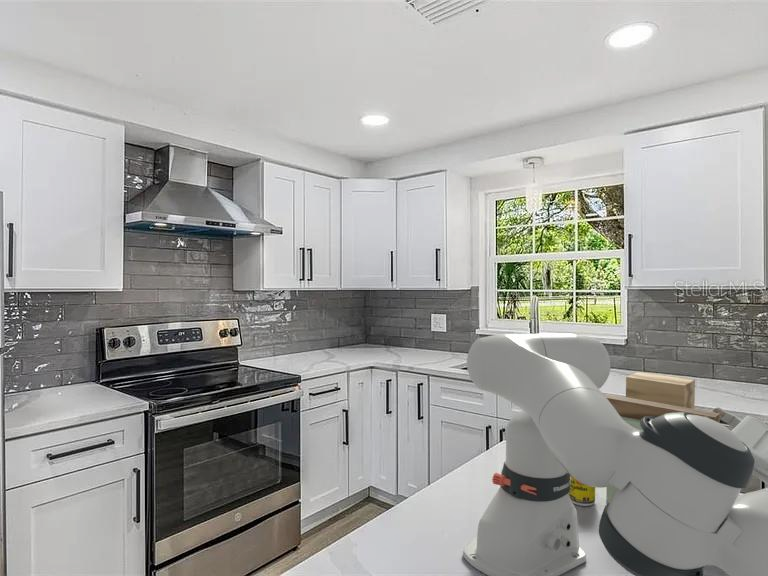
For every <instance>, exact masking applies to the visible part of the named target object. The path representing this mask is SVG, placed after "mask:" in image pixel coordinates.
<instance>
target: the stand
mask: <svg viewBox="0 0 768 576" xmlns="http://www.w3.org/2000/svg"><path fill="white" fill-rule="evenodd" d="M695 390H696V380H695V378H694V379H693V378H685V377H677V376H671V375H663V374H657V373H649V372H642V371H641V372H640V371H637V372H635V373H632V374H630V375H627V376H625V397H628V398H633V399H639V400H645V401H650V402H656V403H662V404H668V405H673V406H679V407H685V408H691V409H695V397H696V396H695V395H696V393H695Z"/></svg>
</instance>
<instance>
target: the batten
mask: <svg viewBox="0 0 768 576" xmlns="http://www.w3.org/2000/svg"><path fill="white" fill-rule="evenodd" d="M603 395H604V396H605V397H606V398H607V399H608V401H609V402H610V403H611V404H612V406H613V407H614V408H615V410H616V411H617V412H618V414H619V415H620V416H622V417H627V418H632V419H637V420H641V419H642V418H644V417H646V416H653V417H659V416H661V415H664V414H666V413H677V412H688V413H693V414H696V415H698V416H703V417H704V416H707V417H709V418H710V419H712V420H714V421H716V422H718V423H720V424H721V419H720V414H719V413H714V412H713V411H707V410H701V409H696V408H694V409H691V408H685V407H679V406H673V405H668V404H662V403H656V402H650V401H645V400H639V399H633V398H628V397H626V396H621V395H616V394H610V393H605V394H603Z"/></svg>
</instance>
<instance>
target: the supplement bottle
mask: <svg viewBox="0 0 768 576" xmlns="http://www.w3.org/2000/svg"><path fill="white" fill-rule="evenodd" d="M570 477H571V483H570V491H569V496H570V499H571V501H572V503H573V505H577V506H581V507H590V506H593V505H594V504H595V502H596V487H591V486H587V485H584V484H582V483H580V482H579V481H577V480H576V479H575V478H573V477H572V476H571V475H570Z"/></svg>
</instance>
